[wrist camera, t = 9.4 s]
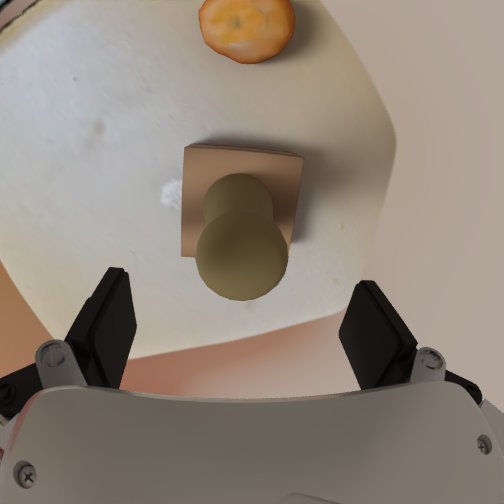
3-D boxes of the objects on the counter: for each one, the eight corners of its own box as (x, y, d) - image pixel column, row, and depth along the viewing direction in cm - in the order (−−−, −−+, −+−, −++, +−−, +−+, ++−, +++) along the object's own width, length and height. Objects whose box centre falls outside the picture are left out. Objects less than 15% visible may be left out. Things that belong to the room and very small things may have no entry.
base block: (191, 144, 25) (184, 147, 22) (294, 153, 26) (303, 158, 23) (187, 239, 30) (181, 256, 26) (280, 245, 31) (286, 263, 27)
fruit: (319, 18, 19) (312, 18, 14) (268, 67, 25) (245, 85, 20) (254, -28, 16) (225, -39, 11) (209, 25, 22) (170, 33, 17)
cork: (282, 185, 24) (320, 235, 14) (259, 247, 26) (276, 326, 16) (214, 164, 22) (201, 198, 13) (195, 229, 25) (174, 302, 15)
